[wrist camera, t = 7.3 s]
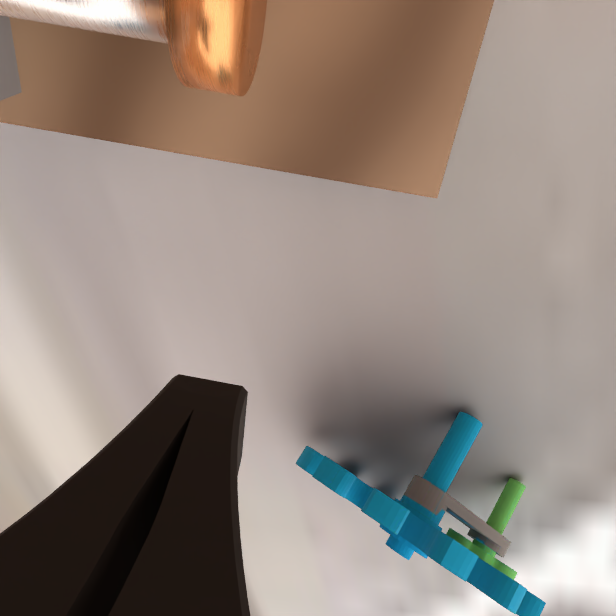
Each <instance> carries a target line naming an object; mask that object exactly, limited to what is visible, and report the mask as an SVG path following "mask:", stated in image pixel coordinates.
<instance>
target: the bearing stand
mask: <svg viewBox="0 0 616 616" xmlns="http://www.w3.org/2000/svg"><path fill="white" fill-rule="evenodd" d="M493 2H494V0H267V7H266V17H265V25H264V32H263V39H262V45H261V50H260V55H259V60H258V64H257V68H256V72H255V75H254V78H253V81H252V84H251V86H250V88H249V90H248V92H247V93H246V94H245V95H244V96H236V95H230V94H224V93H218V92H213V91H207V90H201V89H195V88H189V87H186V86H184V85H183V84H182V83H181V82H180V80H179V79H178V77H177V75H176V73H175V70H174V67H173V64H172V60H171V56H170V52H169V46H168V44H167V43H161V42H155V41H149V40H143V39H137V38H131V37H125V36H119V35H113V34H107V33H101V32H96V31H90V30H84V29H78V28H72V27H66V26H60V25H54V24H48V23H42V22H36V21H30V20H24V19H18V18H12V17H7V16H1V15H0V122H3V123H8V124H14V125H20V126H26V127H31V128H37V129H43V130H48V131H54V132H60V133H66V134H71V135H77V136H83V137H89V138H94V139H100V140H106V141H111V142H117V143H123V144H129V145H134V146H140V147H146V148H152V149H157V150H163V151H169V152H174V153H180V154H186V155H192V156H197V157H203V158H209V159H215V160H220V161H226V162H232V163H237V164H243V165H249V166H255V167H260V168H266V169H272V170H278V171H283V172H289V173H295V174H300V175H306V176H312V177H318V178H323V179H329V180H335V181H341V182H346V183H352V184H358V185H363V186H369V187H375V188H381V189H386V190H392V191H398V192H404V193H409V194H415V195H421V196H426V197H432V198H437V197H438V193H439V190H440V187H441V183H442V180H443V176H444V173H445V169H446V166H447V162H448V159H449V155H450V152H451V148H452V145H453V141H454V138H455V134H456V131H457V127H458V124H459V120H460V117H461V114H462V110H463V107H464V103H465V100H466V96H467V93H468V89H469V86H470V82H471V79H472V75H473V72H474V68H475V65H476V61H477V58H478V54H479V51H480V48H481V44H482V41H483V37H484V34H485V30H486V27H487V23H488V20H489V16H490V13H491V9H492V6H493Z"/></svg>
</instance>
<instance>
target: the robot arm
mask: <svg viewBox="0 0 616 616" xmlns="http://www.w3.org/2000/svg"><path fill="white" fill-rule="evenodd" d="M247 394H248V392H247V391H246V390H245V389H244V387H243V386H239V385H233V384H228V383H223V382H217V381H212V380H207V379H201V378H196V377H190V376H185V375H180V374H179V375H177V376H175V377H173V378H172V379H171V381H170V382H169V383H168V384H167V385H166V386H165V387H164V388H163V389H162V390H161V391H160V393H159V394H158V395H157V396H156V397H155V398H154V399H153V400H152V401H151V402H150V403H149V404H148V405H147V406H146V407H145V408H144V409H143V410H142V411H141V412H140V413H139V414H138V415H137V416H136V417H135V418H134V419H133V420H132V421H131V422H130V423H129V424H128V425H127V426H126V427H125V428H124V429H123V430H122V431H121V432H120V433H119V434H118V435H117V436H116V437H115V438H114V439H113V440H112V441H110V442H109V443H108V444H107V445H106V446H105V447H104V448H103V449H102V450H101V451H100V452H99V453H98V454H97V455H96V456H94V457H93V458H92V459H91V460H90V461H89V462H88V463H87V464H86V465H84V466H83V467H82V468H81V469H80V470H79V471H77V472H76V473H75V474H74V475H73V476H71V477H70V478H69V479H68V480H67V481H66V482H64V483H63V484H62V485H61V486H60V487H59V488H57V489H56V490H55V491H54V492H53V493H52V494H50V495H49V496H48V497H47V498H46V499H44V500H43V501H42V502H41V503H39V504H38V505H37V506H36V507H34V508H33V509H32V510H31V511H29V512H28V513H27V514H25V515H24V516H23V517H22V518H20V519H19V520H18V521H16V522H15V523H14V524H12V525H11V526H10V527H8V528H7V529H6V530H4V531H3V532H2V533H0V616H250V611H249V605H248V598H247V591H246V583H245V575H244V568H243V559H242V549H241V539H240V526H239V512H238V491H237V476H238V471H239V466H240V462H241V457H242V448H243V437H244V426H245V416H246V405H247Z"/></svg>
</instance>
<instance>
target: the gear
mask: <svg viewBox="0 0 616 616" xmlns="http://www.w3.org/2000/svg"><path fill="white" fill-rule="evenodd" d="M482 425H483V424H482V423H481V422H480V421H479V420H477V419H476V418H474V417H473V416H471V415H469V414H467V413H464V412H459V414H458V415H457V417H456V419H455V421H454V422H453V424H452V426H451V428H450V430H449V431H448V433H447V435H446V437H445V439H444V440H443V442H442V444H441V446H440V447H439V449H438V451H437V453H436V455H435V456H434V458H433V460H432V462H431V464H430V465H429V467H428V469H427V471H426V472H425V474H424V476H423V478H422V477H420V476H418V475H414V477H413V479H412V481H411V483H410V484H409V486H408V488H407V490H406V491H405V493H404V495H403V497H402V499H401V500H398V499H396V498H395V500H393V499H391V498H390V497H388V496H387V495H385V494H384V493H382V492H381V491H379V490H378V489H376V488H374V489H373V488H371V487H370V486H368V485H367V484H365V483H364V482H362V481H361V480H359V479H358V478H357V477H356V476H355V475H353V474H352V473H351V472H349V471H348V470H346V469H345V468H343V467H342V466H340V465H338V464H337V463H335V462H334V461H332V460H331V459H329V458H327V457H326V456H323V455H321V454H320V453H318V452H317V451H315V450H314V449H312V448H310V447H309V446H306V448H305V449H304V451H303V452H302V454H301V456H300V457H299V459H298V460H297V462H296V464H297V465H298V466H300V467H301V468H302V469H304V470H305V471H307V472H308V473H310V474H311V475H313V476H312V477H314V478H315V479H317V480H318V481H320V482H321V483H322V484H324V485H325V486H327V487H328V488H330V489H331V490H333V491H334V492H336V493H337V494H339V495H340V496H342V497H343V498H346V499H348V500H349V501H351V502H352V503H354V504H355V505H357V506H358V507H359V508H361V509H362V510H361V511H362V512H364V513H365V514H367V515H368V516H370V517H371V518H372V519H374V520H375V521H377V522H378V523H380V527H381V528H382V529H383V530H385V531H386V532H387V533H389V534H390V537H389V539H388V540H387V542H386V545H387V546H389V547H390V548H391V549H393V550H394V551H396V552H397V553H398V554H400V555H401V556H403V557H404V558H406V559H408V560H410V558H411V556H412V554H413V552H414V551H415V552H417V553H418V554H420V555H421V556H423V557H424V558H426V559H427V557H428V556H429V557H430V558H431V559H433V560H434V561H436V562H437V563H438V564H440V565H441V566H443V567H444V568H446V569H447V570H449V571H450V572H452V573H453V574H455V575H456V576H458V577H459V578H461V579H463V580H464V581H467V582H469V583H470V584H472V585H473V586H475V587H476V588H477V589H479V590H480V591H482V592H483V593H485V594H486V595H487V596H489V597H490V598H492V599H493V600H494V601H496V602H497V603H499V604H500V605H502V606H503V607H505V608H506V609H508V610H509V611H511V612H512V613H514V614H517V615H519V616H540V614H541V612H542V610H543V608H544V606H545V604H546V603H545V602H544V601H542V600H541V599H539V598H538V597H536V596H535V595H533V594H532V593H530V592H528V591H527V589H526V588H524V587H523V586H522V585H520V584H519V583H517V582H516V581H514V578H515V576H516V574H517V572H516V571H514V570H513V569H511V568H510V567H508V566H507V565H505V564H503V563H502V562H500V561H499V560H497V559H496V558H494V557H495V555H496V554H498V555H499V556H501V557H504V555H505V553H506V551H507V549H508V547H509V545H510V543H511V542H510V541H509V540H508V539H506V538H505V537H504V536H502V533H503V531H504V529H505V527H506V525H507V523H508V521H509V519H510V517H511V515H512V513H513V511H514V509H515V507H516V505H517V503H518V501H519V499H520V497H521V495H522V494H523V492H524V490H525V488H526V487H525V486H524V485H523V484H522V483H520V482H518V481H517V480H515V479H512V478H509V480H508V482H507V484H506V486H505V488H504V490H503V492H502V493H501V495H500V497H499V499H498V501H497V503H496V505H495V507H494V509H493V511H492V513H491V515H490V517H489V519H488V521H487V522H486V523H485V522H484V521H483V520H481V519H480V518H479V517H477V516H476V515H475V514H474V513H472V512H471V511H470V510H468V509H467V508H466V507H464V506H463V505H462V504H460V503H459V502H458V501H456V500H455V499H454V498H452V497H451V496H450V495H449V494H447V493H446V492H447V490H448V488H449V486H450V484H451V482H452V481H453V479H454V477H455V475H456V473H457V471H458V470H459V468H460V466H461V464H462V462H463V460H464V458H465V457H466V455H467V453H468V451H469V449H470V447H471V446H472V444H473V442H474V440H475V438H476V436H477V435H478V433H479V431H480V429H481V427H482ZM445 511H447V512H448V513H450V514H451V515H452V516H454V517H455V518H456V519H458V520H459V521H461V522H462V523H463V524H465V525H466V526H467V527H469V528H470V530H469V532H468V534H467V535H469V536H470V537H471V538H473V539H474V540H473V542H471V541H469V540H468V539H466V538H465V537H463V536H462V535H460V534H459V533H457V532H456V531H454V530H452V529H451V528H449V530H448V532H447V534H444V533H443V532H441V531H442V528H441V527H439V526H438V524H439V523H440V521H441V519H442V517H443V515H444V513H445Z"/></svg>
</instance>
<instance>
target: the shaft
mask: <svg viewBox="0 0 616 616" xmlns="http://www.w3.org/2000/svg"><path fill="white" fill-rule="evenodd" d="M266 7H267V0H0V15H1V16H7V17H12V18H18V19H24V20H30V21H36V22H42V23H48V24H54V25H60V26H66V27H72V28H78V29H84V30H90V31H96V32H101V33H107V34H113V35H119V36H125V37H131V38H137V39H143V40H149V41H155V42H161V43H167V44H168V46H169V52H170V56H171V60H172V64H173V67H174V70H175V73H176V75H177V77H178V79H179V80H180V82H181V83H182V84H183V85H184V86H186V87H189V88H195V89H201V90H207V91H213V92H218V93H224V94H230V95H236V96H244V95H245V94H246V93H247V92H248V90H249V88H250V86H251V84H252V81H253V78H254V75H255V72H256V68H257V64H258V60H259V55H260V50H261V45H262V39H263V32H264V25H265V17H266Z"/></svg>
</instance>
